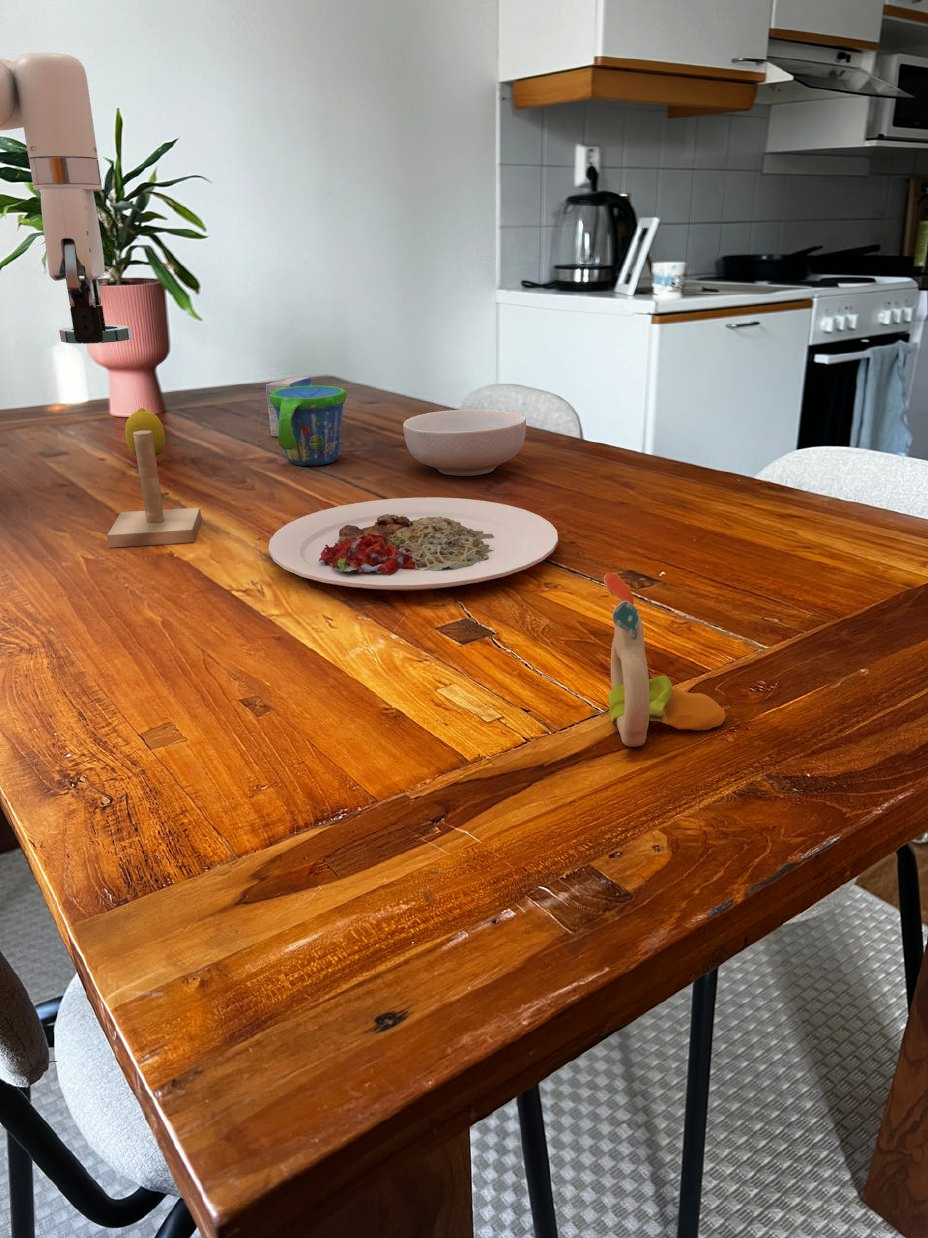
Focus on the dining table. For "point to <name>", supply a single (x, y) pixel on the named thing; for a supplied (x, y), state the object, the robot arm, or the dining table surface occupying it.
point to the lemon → (145, 429)
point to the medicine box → (276, 386)
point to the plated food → (413, 543)
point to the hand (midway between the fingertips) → (91, 339)
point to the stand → (152, 508)
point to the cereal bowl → (465, 439)
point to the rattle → (647, 681)
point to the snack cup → (309, 423)
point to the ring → (109, 335)
